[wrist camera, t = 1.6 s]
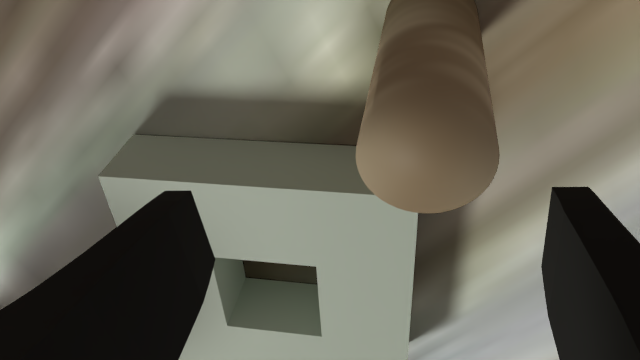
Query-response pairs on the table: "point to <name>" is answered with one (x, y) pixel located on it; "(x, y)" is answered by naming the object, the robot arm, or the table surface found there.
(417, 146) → the peg
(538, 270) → the table surface
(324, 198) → the wick holder
